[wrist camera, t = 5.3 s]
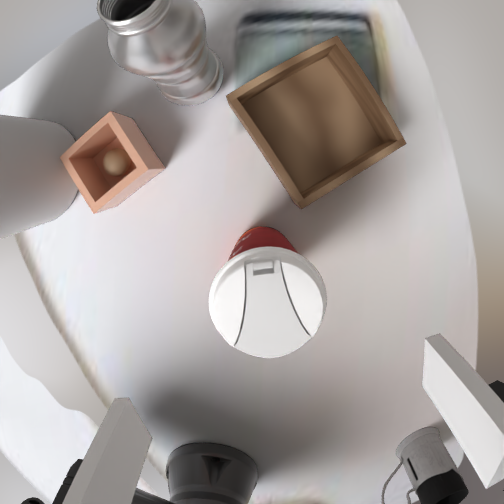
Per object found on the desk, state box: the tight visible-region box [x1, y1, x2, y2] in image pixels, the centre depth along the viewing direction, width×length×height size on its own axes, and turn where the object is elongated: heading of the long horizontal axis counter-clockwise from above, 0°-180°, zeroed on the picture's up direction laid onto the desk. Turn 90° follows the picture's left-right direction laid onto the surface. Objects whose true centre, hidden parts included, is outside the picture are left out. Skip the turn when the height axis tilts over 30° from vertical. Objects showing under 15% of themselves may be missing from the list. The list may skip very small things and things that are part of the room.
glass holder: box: [382, 427, 468, 504], centre depth 37 cm, size 9×14×15 cm, turn 101°
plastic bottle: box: [97, 0, 224, 106], centre depth 21 cm, size 6×7×20 cm
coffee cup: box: [209, 227, 327, 358], centre depth 28 cm, size 8×8×15 cm
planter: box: [60, 111, 166, 214], centre depth 30 cm, size 7×7×6 cm
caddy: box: [226, 36, 406, 209], centre depth 29 cm, size 12×12×5 cm
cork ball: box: [103, 148, 131, 176], centre depth 31 cm, size 3×3×3 cm
